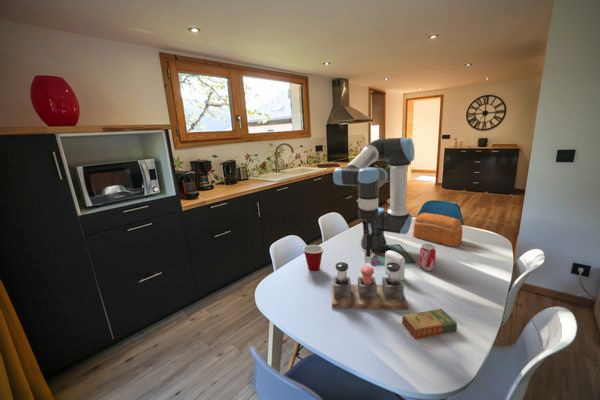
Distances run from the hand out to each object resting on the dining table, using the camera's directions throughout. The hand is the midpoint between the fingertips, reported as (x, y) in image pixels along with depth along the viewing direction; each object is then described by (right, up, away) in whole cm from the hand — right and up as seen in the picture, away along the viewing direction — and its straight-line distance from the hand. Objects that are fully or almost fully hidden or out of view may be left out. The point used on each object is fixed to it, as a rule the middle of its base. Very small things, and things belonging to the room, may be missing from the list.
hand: (367, 261), depth 109 cm
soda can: (+36, -9, +25) cm, 45 cm away
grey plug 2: (+11, -10, +1) cm, 15 cm away
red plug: (0, -12, +3) cm, 12 cm away
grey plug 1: (-10, -11, +4) cm, 15 cm away
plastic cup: (-21, -11, +30) cm, 38 cm away
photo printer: (+18, -12, +20) cm, 29 cm away
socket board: (+1, -16, +4) cm, 17 cm away
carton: (+18, -21, -14) cm, 31 cm away
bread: (+58, +1, +58) cm, 82 cm away
